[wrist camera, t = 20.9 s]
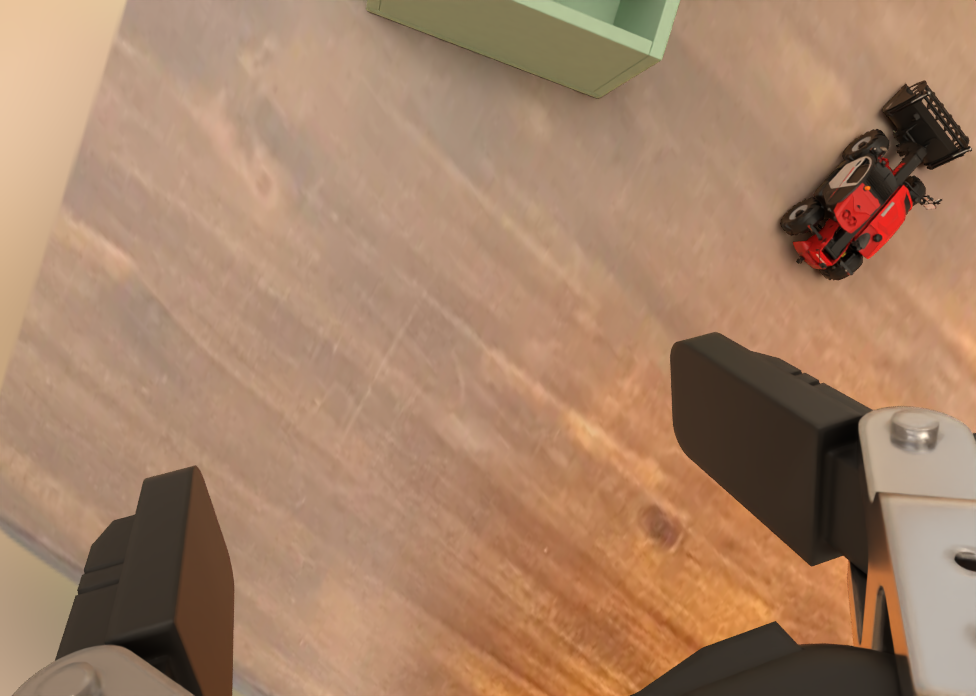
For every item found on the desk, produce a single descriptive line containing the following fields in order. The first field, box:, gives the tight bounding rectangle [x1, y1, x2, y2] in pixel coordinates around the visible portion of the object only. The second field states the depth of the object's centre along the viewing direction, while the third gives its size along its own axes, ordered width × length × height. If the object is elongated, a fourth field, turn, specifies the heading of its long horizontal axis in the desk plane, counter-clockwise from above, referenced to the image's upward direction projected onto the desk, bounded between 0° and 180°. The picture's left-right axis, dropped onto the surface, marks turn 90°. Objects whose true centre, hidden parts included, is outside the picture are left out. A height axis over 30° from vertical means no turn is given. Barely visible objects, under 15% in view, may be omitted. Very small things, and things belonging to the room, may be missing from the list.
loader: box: [780, 81, 972, 280], centre depth 39 cm, size 12×5×5 cm, turn 136°
